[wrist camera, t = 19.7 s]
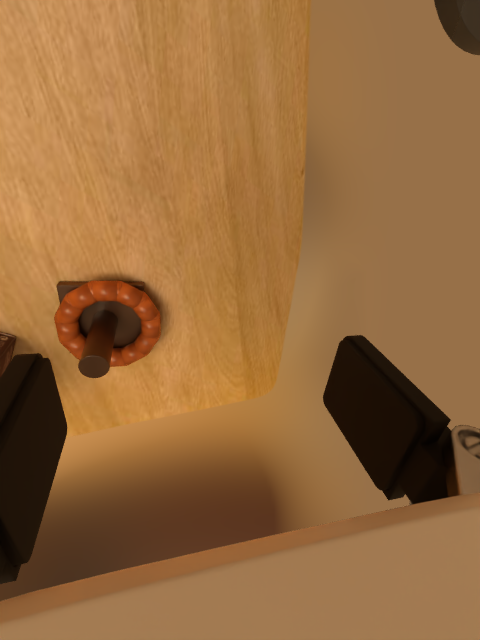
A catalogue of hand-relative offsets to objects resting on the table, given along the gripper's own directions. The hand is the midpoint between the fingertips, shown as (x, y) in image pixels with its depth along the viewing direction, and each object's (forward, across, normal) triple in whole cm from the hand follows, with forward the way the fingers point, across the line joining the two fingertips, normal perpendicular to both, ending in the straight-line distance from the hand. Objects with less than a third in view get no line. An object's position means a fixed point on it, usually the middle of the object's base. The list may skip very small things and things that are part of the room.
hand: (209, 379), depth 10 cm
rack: (+24, +7, +11) cm, 27 cm away
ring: (+22, +7, +11) cm, 25 cm away
